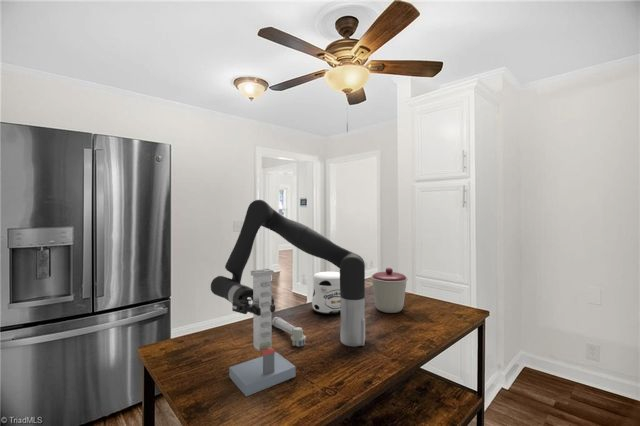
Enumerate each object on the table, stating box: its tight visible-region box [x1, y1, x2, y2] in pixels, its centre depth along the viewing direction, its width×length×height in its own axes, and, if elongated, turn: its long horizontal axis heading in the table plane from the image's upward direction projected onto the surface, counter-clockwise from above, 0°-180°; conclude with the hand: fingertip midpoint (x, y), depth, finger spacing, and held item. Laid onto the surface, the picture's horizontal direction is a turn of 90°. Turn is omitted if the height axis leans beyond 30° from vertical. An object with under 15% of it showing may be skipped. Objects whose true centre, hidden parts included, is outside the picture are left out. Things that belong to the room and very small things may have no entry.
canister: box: [370, 267, 409, 314], centre depth 152 cm, size 18×18×21 cm
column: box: [250, 268, 275, 352], centre depth 91 cm, size 6×5×23 cm
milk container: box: [311, 271, 340, 315], centre depth 150 cm, size 17×17×18 cm
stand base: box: [228, 347, 297, 397], centre depth 92 cm, size 16×12×10 cm
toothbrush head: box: [272, 316, 307, 347], centre depth 122 cm, size 5×7×25 cm
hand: (266, 310), depth 89 cm, fingers closed on column, 4 cm apart
